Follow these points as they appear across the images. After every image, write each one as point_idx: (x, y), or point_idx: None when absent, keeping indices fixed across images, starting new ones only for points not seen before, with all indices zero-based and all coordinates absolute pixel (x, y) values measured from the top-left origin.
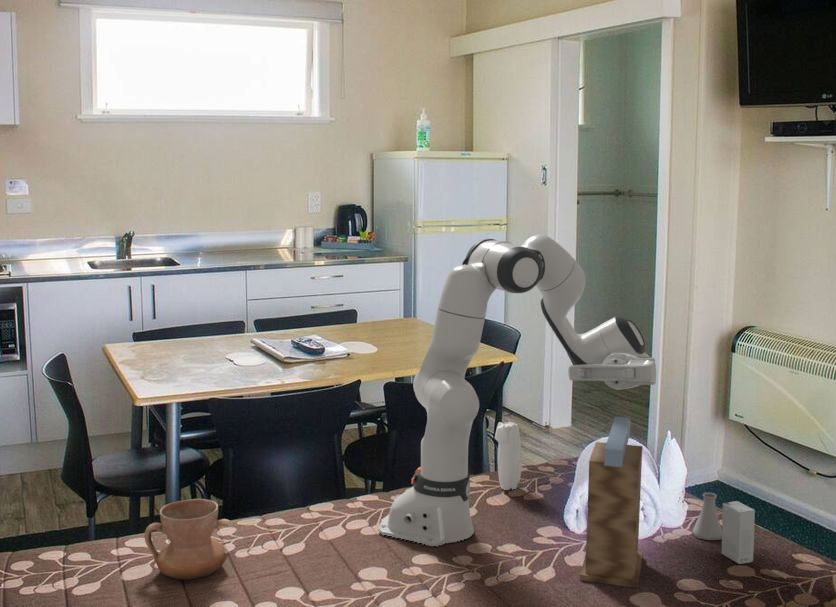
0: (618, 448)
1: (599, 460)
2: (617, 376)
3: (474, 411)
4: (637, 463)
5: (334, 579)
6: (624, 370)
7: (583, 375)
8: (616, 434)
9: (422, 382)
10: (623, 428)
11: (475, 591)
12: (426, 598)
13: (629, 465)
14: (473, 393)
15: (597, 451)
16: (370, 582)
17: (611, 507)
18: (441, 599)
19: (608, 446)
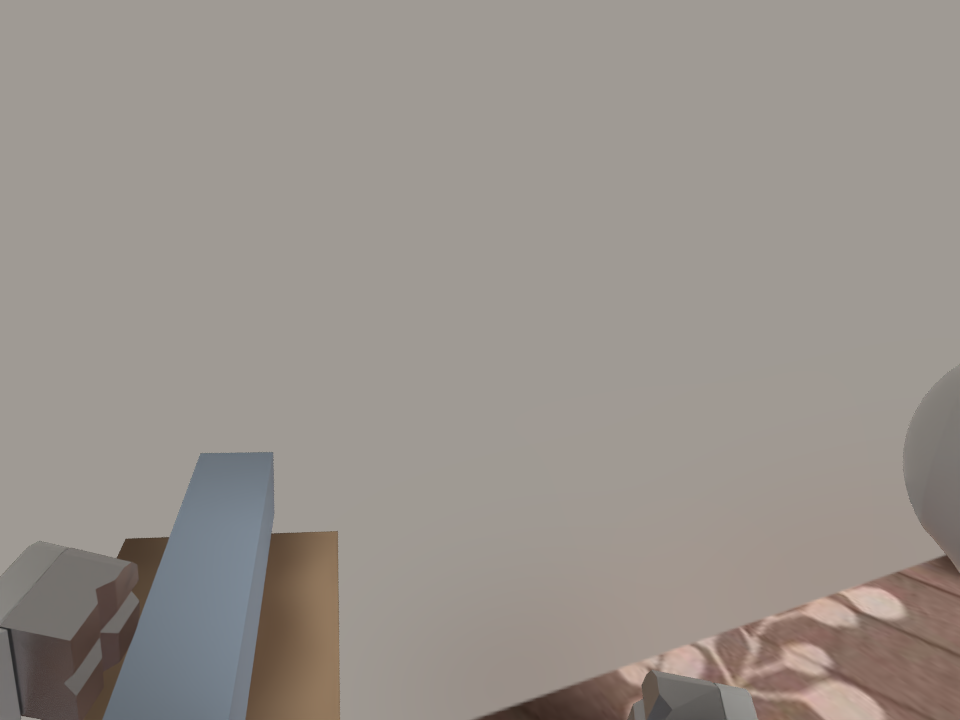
0: (215, 463)
1: (296, 542)
2: (137, 615)
3: (907, 466)
4: (126, 553)
5: (875, 660)
6: (9, 573)
7: (636, 707)
8: (211, 578)
9: None
10: (150, 675)
11: (589, 714)
12: (660, 658)
13: (166, 540)
14: (949, 394)
15: (313, 615)
16: (808, 673)
17: None
18: (631, 664)
19: (258, 470)
